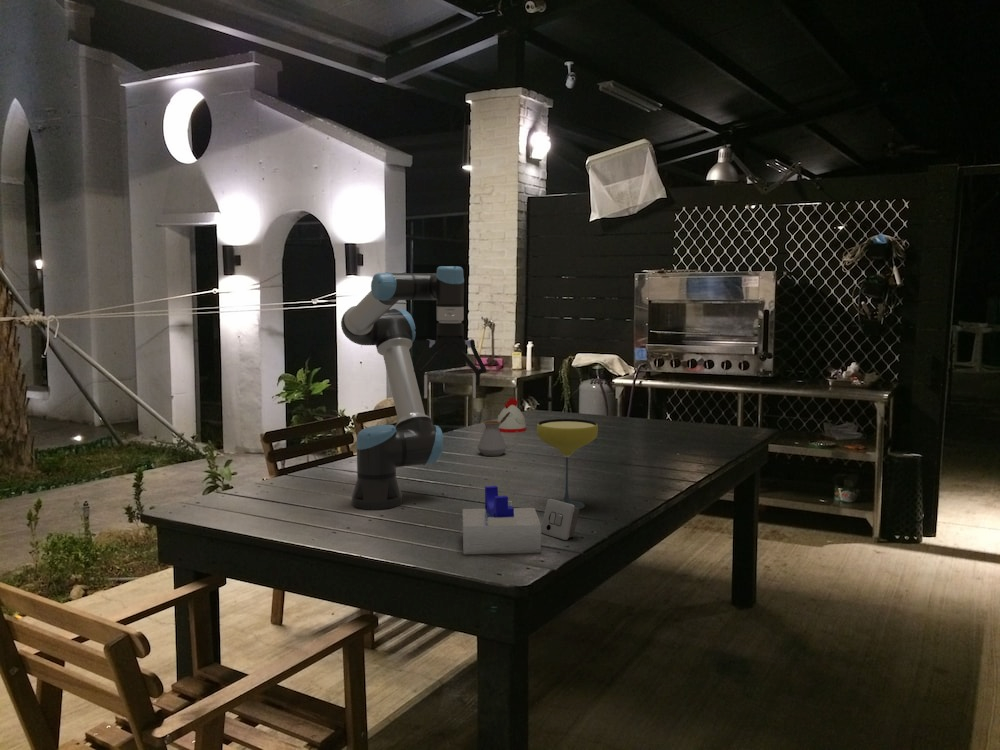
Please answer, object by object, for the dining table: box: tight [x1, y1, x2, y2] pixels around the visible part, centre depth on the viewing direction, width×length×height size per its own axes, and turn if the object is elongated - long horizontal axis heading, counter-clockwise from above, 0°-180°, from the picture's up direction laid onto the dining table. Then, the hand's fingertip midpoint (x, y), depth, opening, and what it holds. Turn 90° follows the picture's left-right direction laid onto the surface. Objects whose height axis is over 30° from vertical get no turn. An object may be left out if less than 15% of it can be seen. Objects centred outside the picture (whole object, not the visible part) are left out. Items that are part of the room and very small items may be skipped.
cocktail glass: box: [536, 418, 599, 510], centre depth 242 cm, size 18×18×25 cm
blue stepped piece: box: [484, 485, 515, 517], centre depth 206 cm, size 12×4×6 cm, turn 14°
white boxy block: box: [462, 500, 542, 555], centre depth 206 cm, size 19×16×9 cm
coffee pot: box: [477, 412, 512, 457], centre depth 324 cm, size 21×12×15 cm, turn 152°
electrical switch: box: [541, 498, 580, 541], centre depth 214 cm, size 9×5×9 cm, turn 42°
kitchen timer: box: [496, 397, 527, 434], centre depth 376 cm, size 14×14×15 cm
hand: (450, 397), depth 228 cm, fingers open, 13 cm apart
